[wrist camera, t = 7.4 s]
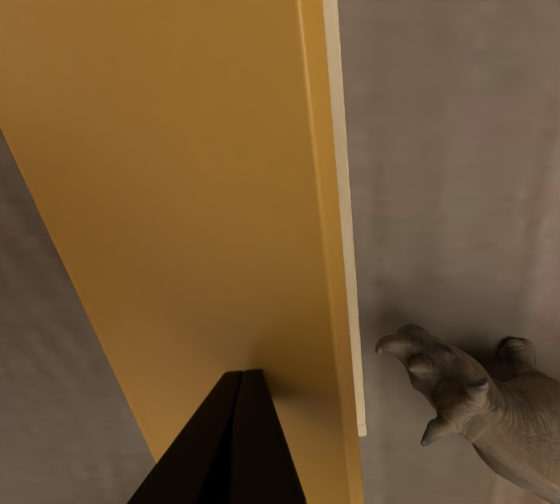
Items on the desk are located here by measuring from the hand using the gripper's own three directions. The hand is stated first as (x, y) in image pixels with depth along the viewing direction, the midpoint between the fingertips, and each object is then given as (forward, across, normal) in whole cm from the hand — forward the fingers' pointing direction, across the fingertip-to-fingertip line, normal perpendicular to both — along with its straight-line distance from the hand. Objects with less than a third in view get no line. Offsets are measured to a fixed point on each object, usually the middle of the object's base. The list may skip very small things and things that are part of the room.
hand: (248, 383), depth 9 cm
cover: (+2, +2, 0) cm, 2 cm away
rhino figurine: (+7, -9, +8) cm, 14 cm away
